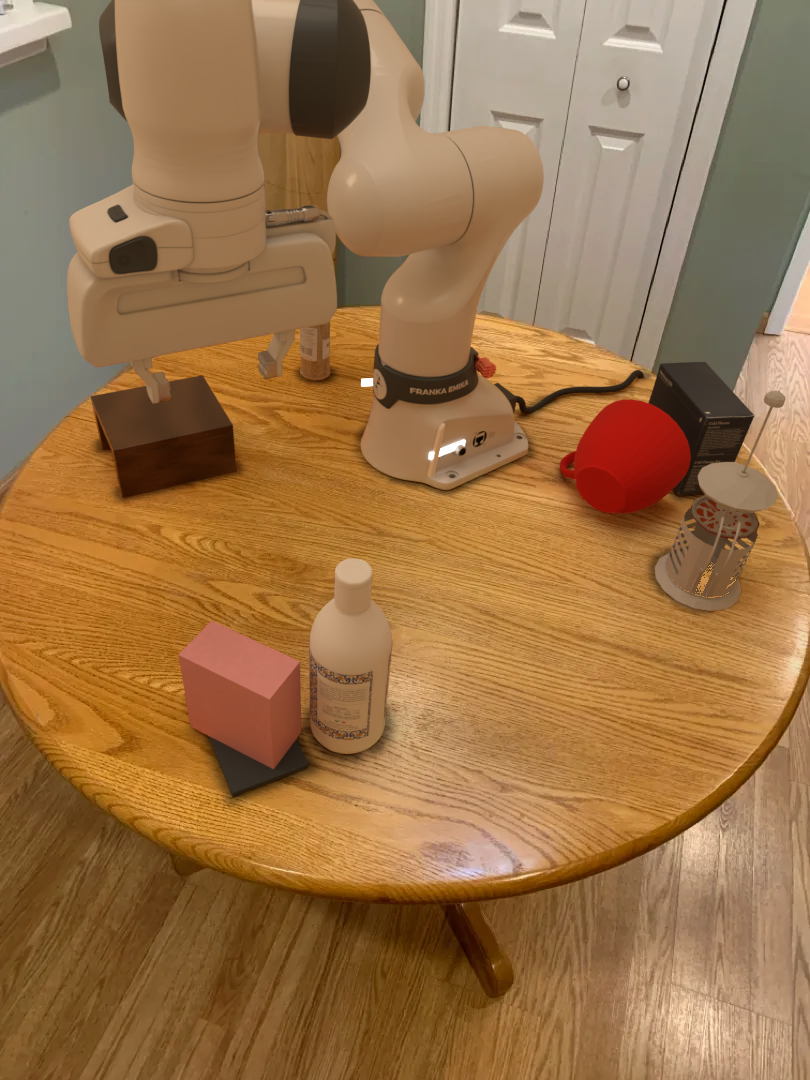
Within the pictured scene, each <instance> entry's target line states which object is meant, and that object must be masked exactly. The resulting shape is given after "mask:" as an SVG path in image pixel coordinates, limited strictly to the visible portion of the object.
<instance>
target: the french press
mask: <svg viewBox="0 0 810 1080" xmlns="http://www.w3.org/2000/svg"><path fill="white" fill-rule="evenodd" d="M785 402H786V396H785V395H784V394H783V393H782V392H781V391H780V390H770V391H768V392H767V393H765V395H764V398H763V403H764V404H765V405H766V406H768V407H769V408H768V411H767V413H766V416H765V418H764V420H763V423H762V425H761V428H760V430H759V432H758V435H757V436H756V439H755V442H754V444H753V446H752V448H751V450H750V453H749V456H748V458H747V461H746V463H745V464H742V463H740V462H737V461H735V462H720V463H711V464H709V465H707V466H705V467H703V468H702V469H701V471H700V472H699V474H698V480H699V486H700V488H701V490H702V491H703V492H704V493H703V494H704V495H701V496H699V497H697V498H695V499H694V500H693V502H692V504H691V506H690V507H689V508H688V509H687V511H686V512H685V513H684V515H683V517H682V520H681V522H680V527H679V528H678V530H677V535H676V536H675V537H674V539H673V540H674V541H673V544H672V545H671V548H670V552H668V553H666V554H665V555H662V556H661V557H659V558H658V560H657V562H656V564H655V566H654V575H655V580H656V582H657V583H658V584H659V586H660V587H661V589H662V591H664V592H665V594H668V596H669V597H671V598H672V599H673V600H675V601H676V602H678V603H679V604H683V605H685V606H687V607H689V608H692V609H695V610H702V611H709V612H714V611H721V610H727V609H729V608H730V607H732V606H733V605H735V604H736V603H738V602H739V599H740V596H741V594H742V588H741V583H740V579H739V578H740V576H741V574H742V571H743V569H744V567H745V565H746V563H747V560H748V559H749V557H750V554H751V552H752V550H753V548H754V546H755V545H756V542H757V539H758V536H759V534H758V529H759V527H760V521H759V517H758V515H757V513H755V512H763V511H765V510H768V509H769V508H771V507H772V506H774V505H776V502H777V500H778V498H779V494H778V490H777V487H776V485H775V484H774V483H773V482H772V481H771V479H770V478H769V477H768V476H766V475H765V474H764V473H762V472H761V471H760V470H758V469H756V468H754V467H750V466H749V464H750V461H751V460H752V457H753V455H754V452H755V450H756V447H757V446H758V443H759V441H760V438H761V436H762V434H763V432H764V430H765V427H766V424H767V422H768V420H769V418H770V415H771V413H772V410H773V408H775V409H781V408H782V407H784V405H785ZM692 520H694V521H695V522H691V523H688V524H686V522H688V521H692ZM692 528H694V529H693V530H690V529H692ZM681 532H682V533H681ZM683 538H685V539H683ZM743 539H747V540H748V541H750V542H751V543H752V544H751V545H749V544H748V543H746V542H745V541H743ZM731 540H733V541H731ZM736 543H737V544H738V545H739V546H740V547H742V548H738V547H737V546H736ZM686 545H687V546H686ZM726 545H727V546H728V547H729V548H730V549H727V548H726ZM680 546H681V547H680ZM741 559H742V560H741ZM711 562H712V563H713V564H712V563H711ZM711 564H712V566H713V565H714V564H715V565H714V566H713V567H712V566H711V567H712V569H713V570H712V569H711V570H712V573H711V575H710V577H709V580H708V582H707V584H706V586H705V585H704V586H705V589H704V591H703V593H701V596H697V595H700V593H697V592H699V590H698V588H697V586H698V584H700V583H699V582H701V581H700V580H701V577H702V575H703V573H704V572H705V570H706V569H707V568H708V569H709V568H711V567H710V566H709V565H711ZM708 566H709V567H708ZM708 569H707V570H708ZM666 570H667V571H666ZM707 570H706V571H707ZM711 570H710V569H709V570H708V572H709V571H711ZM667 572H668V573H667ZM708 572H707V573H708ZM704 575H705V574H704ZM704 575H703V576H704ZM734 575H735V577H734ZM731 577H734V578H733V579H732V580H730V579H731ZM704 578H705V577H704ZM671 579H672V580H673V581H672V580H671ZM735 579H736V581H735ZM733 581H735V582H734V583H733V584H732V585H731V586H729V587H728V588H727V586H728V585H729V584H731V583H732V582H733ZM677 585H678V586H677ZM680 587H681V588H680ZM700 587H701V586H700ZM726 588H727V589H726ZM696 589H697V591H696ZM699 589H700V588H699ZM684 590H686V591H684ZM687 591H689V592H687ZM695 592H696V593H695ZM700 592H701V590H700ZM728 592H729V593H728ZM692 593H693V594H692ZM727 593H728V594H727ZM695 594H697V595H695ZM725 594H726V595H725ZM723 595H724V596H723ZM702 596H704V597H705V598H704V597H702ZM714 596H722V597H715V598H708V597H714ZM706 597H707V598H706Z"/></svg>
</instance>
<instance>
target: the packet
mask: <svg viewBox="0 0 810 1080" xmlns="http://www.w3.org/2000/svg"><path fill="white" fill-rule="evenodd" d="M178 660H179V666H180V672H181V679H182V684H183V691H184V697H185V703H186V708H187V715H188V721H189V726H190V727H191V728H193V729H195V730H197V731H199V733H202V734H204V735H206V736H207V737H208V736H210V737H212V738H214V739H216V740H218V741H220V742H222V743H223V744H225V745H227V746H229V747H231V748H233V749H235V750H237V751H239V752H241V753H243V754H245V755H247V756H249V757H251V758H253V759H255V760H256V761H258V762H260V763H262V764H264V765H266V766H268V767H270V768H272V769H274V768H275V767H276V766H277V764H278V763H279V762H280V760H281V759H282V758H283V756H284V755H285V754H286V752H287V751H288V750H289V748H290V747H291V746H292V744H293V743H294V742H295V740H296V739H297V740H298V737H299V736H300V735H301V734H302V702H301V701H302V693H301V690H302V689H301V661H300V660H298V659H296V658H293V657H291V656H289V655H288V654H286V653H283V652H281V651H278V650H276V649H275V648H272V647H271V646H268V645H266V644H263V643H261V642H259V641H257V640H255V639H253V638H250V637H248V636H246V635H244V634H242V633H240V632H237V631H235V630H234V629H231V628H229V627H226V626H224V625H222V624H220V623H218V622H216V621H214V620H210V621H209V622H208V623H207V625H205V626H204V627H203V628H202V630H200V632H199V633H197V635H195V637H194V638H193V639H192V640H191V641H190V642H189V643H188V644H187V645H186V646H185V647H184V648H183V649H182V650H181V652H180V653H178Z"/></svg>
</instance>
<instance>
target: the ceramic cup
mask: <svg viewBox="0 0 810 1080" xmlns="http://www.w3.org/2000/svg"><path fill="white" fill-rule="evenodd" d="M690 460H691V456H690V448H689V444H688V441H687V439H686V437H685V435H684V433H683V431H682V430H681V428H680V427H679V426H678V424H677V423H676V422H675V421H674V420H673V419H672V418H671V417H670V416H669V415H668V414H666V413H665V412H664V411H662V410H661V409H659V408H657V407H656V406H654V405H652V404H649V402H646V401H643V400H638V399H632V398H628V399H627V398H626V399H619V400H615V401H613V402H611V403H609V404H607V405H605V406H604V407H603V408H602V409H601V410H600V411H599V412H598V413H597V414H596V416H595V417H594V418H593V419H592V420H591V421H590V423H589V425H588V426H587V427H586V429H585V431H584V432H583V434H582V436H581V437H580V439H579V441H578V443H577V445H576V450H574V451H571V452H569V453H567V454H566V455H564V456H563V457H562V458H561V459H560V461H559V470H560V473H561V474H562V475H563V476H564V477H565V478H568V479H571V480H574V481H575V487H576V490H577V492H578V494H579V496H580V497H581V498H582V500H583V501H585V503H586V504H587V505H589V506H590V507H591V508H593V509H595V510H597V511H599V512H601V513H604V514H619V515H620V514H622V515H623V514H632V513H636V512H640V511H643V510H646V509H648V508H650V507H652V506H653V505H656V504H657V503H658V502H659V501H661V500H662V499H664V498H665V497H666V496H667V495H668V494H670V493H671V492H672V491H674V490H673V489H674V488H675V487H676V486H677V484H678V483H679V482H680V481H681V480H682V479H683V478H684V476H685V475H686V473H687V471H688V469H689V466H690ZM572 464H573V469H570V468H569V466H570V465H572Z"/></svg>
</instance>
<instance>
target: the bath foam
mask: <svg viewBox="0 0 810 1080" xmlns="http://www.w3.org/2000/svg"><path fill="white" fill-rule="evenodd" d="M373 574H374V573H373V568H372V566H371V565H370V563H368V562H367V561H365V560H364V559H361V558H355V557H352V558H346V559H343V560H341V561H340V562H338V563H337V565H336V566H335V569H334V591H333V593H334V597H332V599H331V600H330V601H328V602H327V603H326V604H325V605H324V606H323V607H322V608H321V609H320V611H318V613H317V615H316V617H315V619H314V620H313V623H312V626H311V629H310V634H309V638H308V650H309V651H308V660H309V661H308V665H309V667H308V672H309V673H308V676H309V677H308V678H309V679H308V681H309V725H310V730H311V733H312V735H313V737H314V738H315V740H316V741H317V742H318V743H319V744H320V745H321V746H323V747H324V748H326V749H327V750H329V751H331V752H334V753H336V754H337V753H338V754H345V755H351V754H357V753H361V752H364V751H366V750H368V749H369V748H371V747H372V746H374V745H375V744H376V743H377V742H378V741H379V740H380V738H381V737H382V735H383V732H384V730H385V727H386V717H387V708H388V697H389V688H390V687H389V686H390V677H391V676H390V674H391V664H392V652H393V636H392V630H391V626H390V623H389V620H388V618H387V616H386V614H385V612H384V611H383V610H382V609H381V607H380V606H379V605H378V604H377V603H376V602H375V601H374V600H373V599H372V591H373Z"/></svg>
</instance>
